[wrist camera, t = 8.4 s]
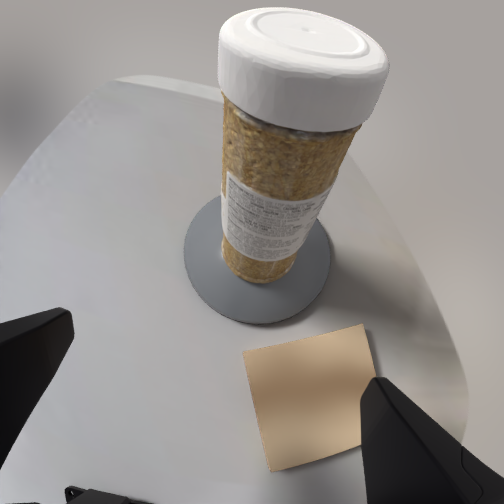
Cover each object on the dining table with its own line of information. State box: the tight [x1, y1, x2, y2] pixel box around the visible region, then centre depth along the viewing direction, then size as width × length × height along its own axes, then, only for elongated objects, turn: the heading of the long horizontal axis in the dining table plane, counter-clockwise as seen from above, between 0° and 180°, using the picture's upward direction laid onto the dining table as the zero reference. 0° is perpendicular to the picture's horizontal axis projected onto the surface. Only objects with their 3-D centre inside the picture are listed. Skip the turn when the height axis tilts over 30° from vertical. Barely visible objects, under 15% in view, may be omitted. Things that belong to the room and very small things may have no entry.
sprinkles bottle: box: [218, 8, 390, 284], centre depth 12 cm, size 5×5×13 cm
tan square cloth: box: [243, 323, 376, 472], centre depth 15 cm, size 7×7×1 cm
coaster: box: [184, 195, 330, 324], centre depth 18 cm, size 9×9×1 cm
